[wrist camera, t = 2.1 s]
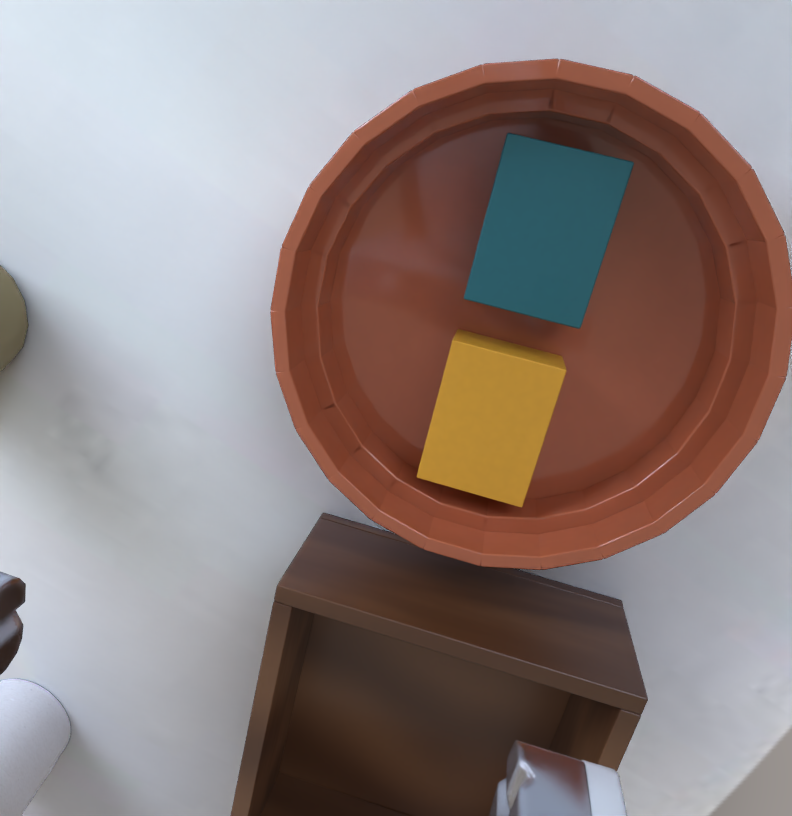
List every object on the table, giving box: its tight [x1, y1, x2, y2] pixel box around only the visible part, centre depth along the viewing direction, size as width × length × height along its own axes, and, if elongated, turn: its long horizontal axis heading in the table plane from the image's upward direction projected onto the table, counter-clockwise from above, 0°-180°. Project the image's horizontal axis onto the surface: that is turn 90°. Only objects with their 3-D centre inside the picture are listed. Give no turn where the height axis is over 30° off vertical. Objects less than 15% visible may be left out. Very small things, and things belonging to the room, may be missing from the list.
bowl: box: [270, 59, 792, 570], centre depth 26 cm, size 18×18×4 cm
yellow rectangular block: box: [416, 329, 567, 507], centre depth 28 cm, size 6×4×2 cm
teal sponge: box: [464, 133, 634, 329], centre depth 25 cm, size 6×4×2 cm
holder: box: [231, 513, 648, 816], centre depth 31 cm, size 17×15×7 cm
